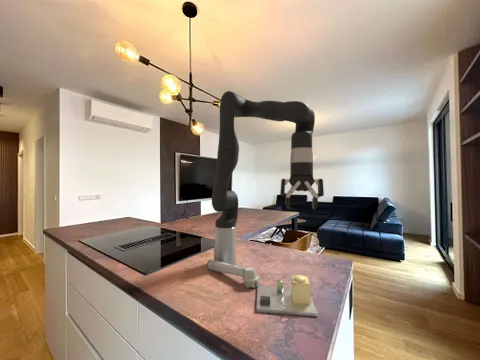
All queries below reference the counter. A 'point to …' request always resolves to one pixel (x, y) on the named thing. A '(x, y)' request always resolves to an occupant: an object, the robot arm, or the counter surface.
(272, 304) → the plate
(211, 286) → the counter surface
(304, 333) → the counter surface
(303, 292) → the cube with dome bump
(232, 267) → the white handheld device
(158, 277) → the counter surface
